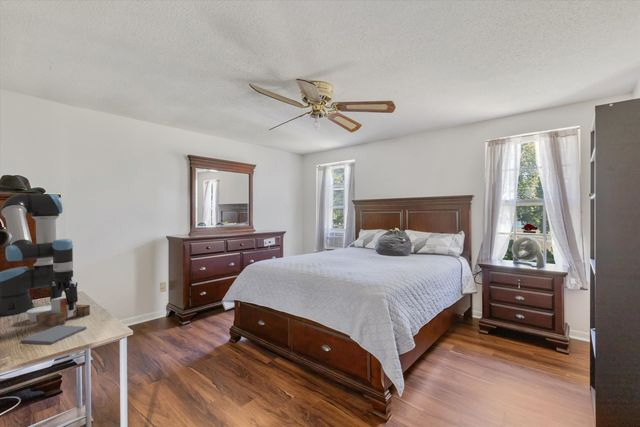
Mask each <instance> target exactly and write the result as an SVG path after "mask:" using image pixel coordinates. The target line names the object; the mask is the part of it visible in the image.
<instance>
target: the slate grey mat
mask: <svg viewBox="0 0 640 427" xmlns="http://www.w3.org/2000/svg"><path fill="white" fill-rule="evenodd" d="M85 330H87V326H82V325H81V326H77V325H74V326H73V325H58V326H55V327H51V328H48V329H45V330H42V331H40V332H37V333H35V334H33V335H30V336H27V337H25V338H22V339H20V340H21V341H20V342H21V343H30V344H44V345H45V344H46V345H47V344H48V345H53V344H56V343H58V342H60V341H62V340H65V339H66V338H70V337H72V336H73V335H76V334H78V333H81V332H82V331H83V332H84V331H85Z"/></svg>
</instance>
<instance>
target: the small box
mask: <svg viewBox="0 0 640 427" xmlns="http://www.w3.org/2000/svg"><path fill="white" fill-rule="evenodd" d="M66 304H68V302H67V299H66V295H62V296H61V297H59V298H55V299H51V302H50V305H51V313H52V314H65V320H67V319H70V318H74V317H77V316H76V305H77V302H75V303H74V310H73V316H71V317H68V318H67V313H66Z"/></svg>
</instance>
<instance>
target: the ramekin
mask: <svg viewBox="0 0 640 427" xmlns="http://www.w3.org/2000/svg"><path fill="white" fill-rule="evenodd" d="M25 313H26V315H27V318H28V321H29V322H30V323H37V317H36V315H39V314H42V313H51V304H49V305H48V304H47V305H42V306H37V307H34V308H33V309H30V310H28V311H25Z"/></svg>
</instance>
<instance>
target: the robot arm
mask: <svg viewBox="0 0 640 427" xmlns="http://www.w3.org/2000/svg"><path fill="white" fill-rule="evenodd" d="M63 209H64V208H63V203H62V200H61V198H60V196H59V195H58V194H54V193H24V192H22V193H18V194H13V195H12V196H10V197H8V198H6V199H5V201H4V202H3V203H2V205H1V207H0V212H1V216H2V217H3V218H4V219H5V223H6V224H5V225H6V230H7V232H8V231H9V232H10V233H11V235H12V240H11V242H10V241H9V245H7V246H6V247H5V258H6V259H5V260H6V261H8V262H21V261H29V260H35V259H36V262H34V263H33V265H32V266H33V268H29V266H18V267H12V268H8V269H5V270H2V271H0V317H3V316H12V315H17V314H20V313H26V312H27V311H28V310H30V309H33V308H35V304H34V303H35V302H33V299H32V298H31V296H30V290H34V289H41V288H47V287H50V294H49V297H50V298H49V301H50V303H51V299H55V298H59V297H62V296H63V292H64V294H65V295H64V296H66V299H67V302H68V304H66V313H67V319H69V318H68V317H70V318H72V317H71V316H73V310H74V303H75V302H76V303H77V302H78V300H79V298H78V282H77V281H76V282H74V281H73V279H72V278H73V277H74V270H73V269H74V253H73V249H74V248H73V247H74V245H73V240H72V239H70V238H69V239H68V238H64V239H63V238H61V239H57V223H56V222H57V219H58V218H59V217H60V215H61V214H62V213H63ZM26 215H31V218H32V219H33V220H34V221H35V238H36V239H35V242H36V243H33V241H32V236H31V233H30V229H29V225H28V219H27V216H26ZM73 317H74V316H73Z"/></svg>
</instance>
